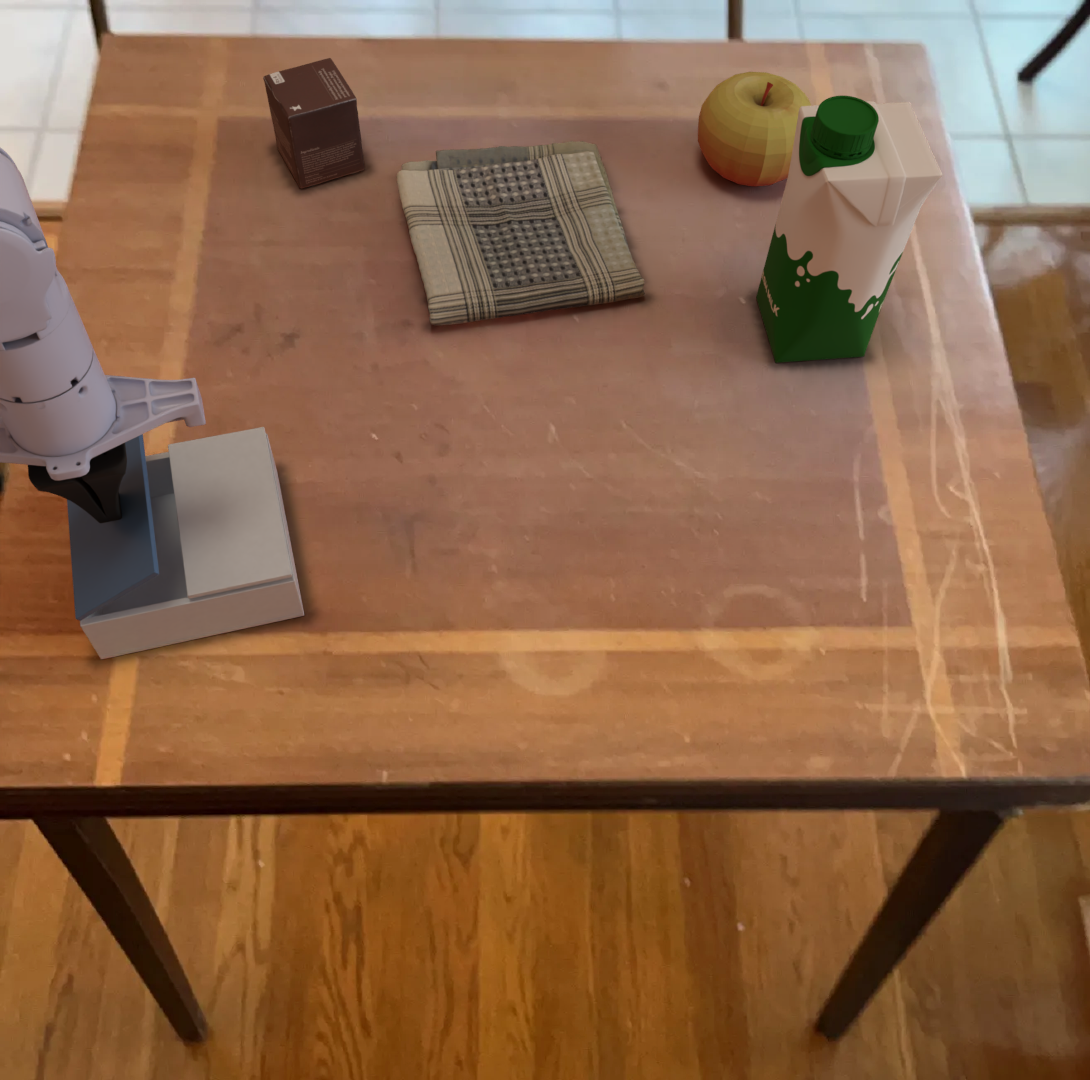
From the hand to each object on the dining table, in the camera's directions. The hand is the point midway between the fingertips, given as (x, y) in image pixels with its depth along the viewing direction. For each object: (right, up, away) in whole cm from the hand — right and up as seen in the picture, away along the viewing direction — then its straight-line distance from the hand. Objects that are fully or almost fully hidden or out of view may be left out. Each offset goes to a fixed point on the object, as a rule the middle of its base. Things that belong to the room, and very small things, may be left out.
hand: (109, 508), depth 72 cm
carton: (+3, -3, +7) cm, 8 cm away
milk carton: (+48, +15, +21) cm, 54 cm away
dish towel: (+24, +23, +25) cm, 42 cm away
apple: (+45, +31, +31) cm, 62 cm away
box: (+7, +31, +29) cm, 43 cm away
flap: (0, -1, +1) cm, 1 cm away
